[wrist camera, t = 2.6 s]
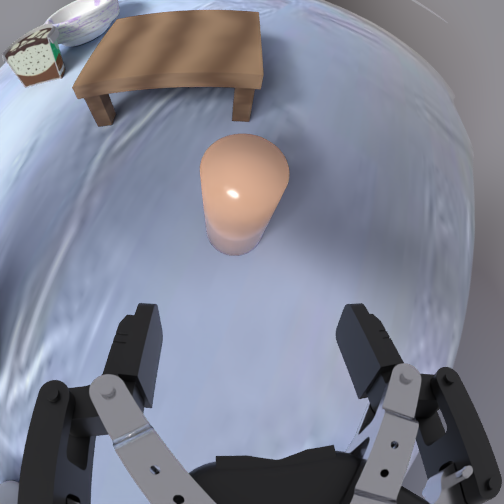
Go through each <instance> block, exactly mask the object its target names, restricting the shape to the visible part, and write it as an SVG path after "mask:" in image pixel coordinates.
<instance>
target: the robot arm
mask: <svg viewBox="0 0 504 504" xmlns="http://www.w3.org/2000/svg"><path fill="white" fill-rule="evenodd" d="M162 340H163V334H162V327H161V322H160V316H159V311H158V306H157V304H145V303H139V304H138V306H137V309H136V312H135V315H126V317H125V318H124V319H123V320H122V321H121V322H120V323H119V326H118V329H117V331H116V335H115V337H114V340H113V343H112V346H111V349H110V352H109V355H108V359H107V362H106V365H105V368H104V371H103V374H102V375H101V376H99V377H97V378H96V379H95V380H94V381H93V382H92V383H91V385H88V386H83V387H75V388H68V387H67V386H66V385H65V384H64V383H63V382H61V381H58V380H52V381H49V382H47V383H45V384H44V385H43V386H42V387H41V389H40V391H39V394H38V397H37V400H36V404H35V407H34V411H33V414H32V418H31V422H30V426H29V430H28V435H27V439H26V444H25V449H24V454H23V460H22V466H21V473H20V481H19V490H18V502H17V504H91V481H92V468H93V457H94V448H95V440H96V436H99V435H108V434H109V436H110V437H111V439H112V441H113V447H114V449H115V451H116V453H117V454H118V456H119V458H120V459H121V461H122V463H123V464H124V466H125V467H126V469H127V470H128V472H129V474H130V475H131V477H132V478H133V479H134V481H135V482H136V484H137V485H138V487H139V488H140V489H141V491H142V492H143V494H144V495H145V496H146V498H147V499H148V500H149V502H150V503H151V504H482V503H484V502H486V501H488V500H490V499H492V498H494V497H495V496H496V495H497V494H498V492H499V491H500V488H501V484H502V479H501V474H500V471H499V468H498V465H497V462H496V459H495V456H494V454H493V451H492V448H491V446H490V443H489V440H488V438H487V435H486V433H485V431H484V428H483V425H482V423H481V421H480V419H479V417H478V414H477V412H476V410H475V407H474V405H473V403H472V401H471V399H470V397H469V395H468V393H467V391H466V389H465V387H464V385H463V383H462V381H461V379H460V377H459V375H458V374H457V372H455V371H454V370H453V369H451V368H449V367H442V368H440V369H439V370H438V371H437V372H436V374H435V375H430V374H420V373H419V371H418V370H417V369H416V368H415V367H413V366H412V365H410V364H405V363H404V362H403V361H402V359H401V357H400V355H399V353H398V351H397V349H396V348H395V346H394V344H393V342H392V340H391V338H389V335H388V333H387V331H385V328H384V326H383V324H382V323H381V321H380V320H379V319H378V318H377V317H375V316H374V315H373V314H369V312H368V311H367V309H366V307H365V306H364V304H362V303H360V304H347V305H345V307H344V310H343V312H342V315H341V318H340V320H339V323H338V326H337V329H336V340H337V343H338V346H339V348H340V351H341V353H342V356H343V359H344V361H345V364H346V366H347V369H348V372H349V374H350V377H351V380H352V382H353V385H354V388H355V390H356V393H357V396H358V398H359V399H362V398H367V397H368V399H369V403H368V404H367V407H366V409H365V412H364V414H363V417H362V419H361V422H360V424H359V427H358V429H357V432H356V434H355V436H354V438H353V440H352V441H351V443H350V444H349V446H348V447H347V449H346V451H345V452H341V451H335V448H334V445H330V446H325V447H320V448H314V449H307V450H305V451H302V452H299V453H297V454H294V455H291V456H289V457H286V458H283V459H280V460H273V459H265V458H258V457H252V456H216V462H211V463H208V464H205V465H202V466H200V467H198V468H196V469H194V470H193V471H191V472H190V473H188V472H187V471H186V470H185V469H184V467H183V466H182V465H181V464H180V463H179V461H178V460H177V459H176V458H175V456H174V455H173V454H172V453H171V451H170V450H169V449H168V447H167V446H166V445H165V443H164V442H163V441H162V439H161V438H160V437H159V435H158V434H157V432H156V431H155V430H154V428H153V427H152V426H151V425H150V423H149V422H148V421H147V419H146V418H145V416H144V415H143V411H144V407H146V408H152V404H153V397H154V390H155V383H156V377H157V370H158V364H159V358H160V353H161V347H162ZM439 409H440V410H441V412H442V414H443V417H444V419H445V422H446V424H447V431H446V433H445V430H444V428H443V425H442V423H441V420H440V418H439V416H438V413H437V411H438V410H439ZM415 439H416V442H417V445H418V448H419V451H420V454H421V457H422V460H423V464H424V467H425V471H426V474H427V478H428V481H427V484H426V487H425V488H424V489H423V491H422V495H423V496H424V497H425V500H424V499H423V498H421V497H419V496H418V495H416V494H414V493H412V492H411V491H409V490H408V489H406V488H404V487H403V486H401V485H402V482H403V479H404V476H405V473H406V470H407V467H408V464H409V461H410V458H411V454H412V451H413V447H414V443H415Z"/></svg>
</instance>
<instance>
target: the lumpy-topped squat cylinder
mask: <svg viewBox="0 0 504 504" xmlns="http://www.w3.org/2000/svg"><path fill="white" fill-rule="evenodd" d="M18 490H19V483H18V482H16V481H12V480H10V481H5V482H3V483H2V484H0V504H17V502H18Z"/></svg>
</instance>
